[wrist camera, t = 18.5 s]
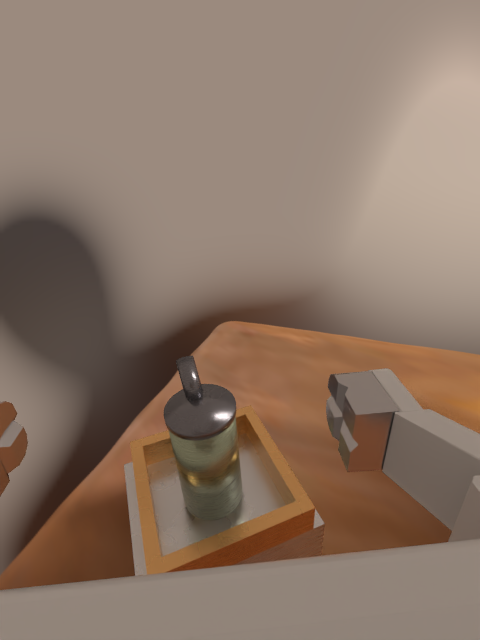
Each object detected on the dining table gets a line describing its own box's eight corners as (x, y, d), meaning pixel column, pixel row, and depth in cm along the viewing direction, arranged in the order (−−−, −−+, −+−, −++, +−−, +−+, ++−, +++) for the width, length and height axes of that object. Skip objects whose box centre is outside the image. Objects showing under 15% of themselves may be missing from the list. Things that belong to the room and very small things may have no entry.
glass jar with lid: (225, 445, 33) (213, 342, 28) (253, 506, 27) (244, 391, 22) (173, 463, 32) (149, 358, 26) (190, 532, 26) (165, 416, 20)
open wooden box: (250, 435, 41) (248, 386, 37) (320, 560, 28) (327, 502, 25) (131, 475, 37) (116, 423, 33) (151, 643, 24) (131, 587, 21)
